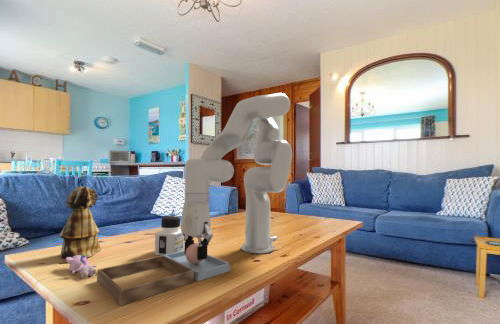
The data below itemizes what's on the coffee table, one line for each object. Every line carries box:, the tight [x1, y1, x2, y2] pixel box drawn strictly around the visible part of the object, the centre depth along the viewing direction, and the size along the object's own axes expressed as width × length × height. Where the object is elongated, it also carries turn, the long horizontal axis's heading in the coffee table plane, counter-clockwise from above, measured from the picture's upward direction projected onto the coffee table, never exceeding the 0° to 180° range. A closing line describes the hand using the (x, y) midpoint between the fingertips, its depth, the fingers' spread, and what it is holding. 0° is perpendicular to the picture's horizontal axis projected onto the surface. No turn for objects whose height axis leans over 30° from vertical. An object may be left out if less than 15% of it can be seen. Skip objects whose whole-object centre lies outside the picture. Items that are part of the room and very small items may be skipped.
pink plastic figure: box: [65, 254, 97, 280], centre depth 75 cm, size 6×6×15 cm
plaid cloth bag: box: [58, 185, 102, 259], centre depth 91 cm, size 14×14×25 cm
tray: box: [164, 251, 231, 282], centre depth 81 cm, size 11×20×2 cm, turn 45°
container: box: [154, 215, 185, 256], centre depth 95 cm, size 8×8×13 cm
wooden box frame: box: [96, 255, 195, 306], centre depth 69 cm, size 18×17×3 cm
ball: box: [186, 242, 203, 264], centre depth 81 cm, size 6×6×6 cm
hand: (195, 255), depth 81 cm, fingers open, 6 cm apart
